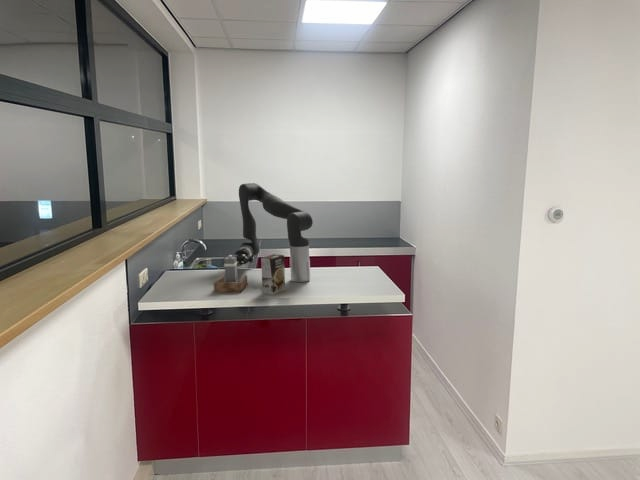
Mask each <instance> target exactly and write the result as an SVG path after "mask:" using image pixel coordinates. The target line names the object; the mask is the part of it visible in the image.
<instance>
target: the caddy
mask: <svg viewBox="0 0 640 480" xmlns="http://www.w3.org/2000/svg"><path fill="white" fill-rule="evenodd" d="M213 285H214V293H215V294H221V293H222V294H225V293H226V294H227V293H228V294H232V293H233V294H234V293H235V294H238V293H242V292H244V290H245V289H246V288H247V286H248V275H244V276H243V277H242V278H241V279H240V280H239V281H238V282H226V281H225V275H221V276H220V277H219V278H218V279H217V280H216V281H215V282H214V283H213Z"/></svg>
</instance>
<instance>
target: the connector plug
mask: <svg viewBox="0 0 640 480" xmlns="http://www.w3.org/2000/svg"><path fill="white" fill-rule="evenodd" d="M228 256H229V257H226V256H225V257H226V258H225V259H224V258H223V263H224V264H223V266H224V280H225V282H239V280H238V279H239V278H238V277H239V276H238V263H237V258H236V257H232V256H233V255H232V254H229V255H228Z"/></svg>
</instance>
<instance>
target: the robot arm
mask: <svg viewBox="0 0 640 480" xmlns="http://www.w3.org/2000/svg"><path fill="white" fill-rule="evenodd" d="M238 198H239V205H240V211H241V218H242V236H243V238H244V239H247V240H250V241H251V242H245V241H244V242H242V243H241V244H240V246H239V247H240V248H239V249H237V250H236V251H235V252H234V254H233V255H232V257H236V258H237V265H247V264H248V263H249V264H251V263H254V261H255V256H257V255H258V254H259V253H260V246H259V242H258V240H257V239H258V237H257V223H256V220H255V217H254V216H253V214H252V213H251V211H250V206H249V202H251V201H258V202H260V203H261V205H262V208H263V209H264V211H265V212H266V213H268V214H270V215H272V216H274V217H276V218H279V219H283V220H286V228H287V238H288V242H289V256H290V257H289V260H290V261H289V262H290V281H291V282H295V283H305V282H310V280H311V259H310V240H309V239H308V238H307V237H303V236H302V232H303V231H308V230H310V229H311V227H312V226H313V224H314V223H313V218H312V216H311V215H310V213H309V212H307V211H305V210H303V209H300V208H297V207H295V206H293V205H292V204H290V203H288V202H286V201H284V200H283V199H282V198H280V197H278V196H276V195H274V194H273V193H271V192H269V191H267V190H266V189H265V188H264V187H262V186H261V185H260V184H258V183H255V182H253V183H251V182H250V183H242V184H240V185H239V186H238ZM226 257H229V256H228V255H226V256H224V257H223V260H224V259H225V258H226Z"/></svg>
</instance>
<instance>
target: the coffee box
mask: <svg viewBox="0 0 640 480" xmlns="http://www.w3.org/2000/svg"><path fill="white" fill-rule="evenodd" d="M260 260H261V261H260V263H261V266H260V267H261V286H262V287H261V288H262V289H261V290H262V292H261V293H263V294H267V295H271V296H273V295H277V294H279V293H281V292H283V291H286V276H285V255H284V254H275V253H274V254H270V255H266V256H263V257H260Z"/></svg>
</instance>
